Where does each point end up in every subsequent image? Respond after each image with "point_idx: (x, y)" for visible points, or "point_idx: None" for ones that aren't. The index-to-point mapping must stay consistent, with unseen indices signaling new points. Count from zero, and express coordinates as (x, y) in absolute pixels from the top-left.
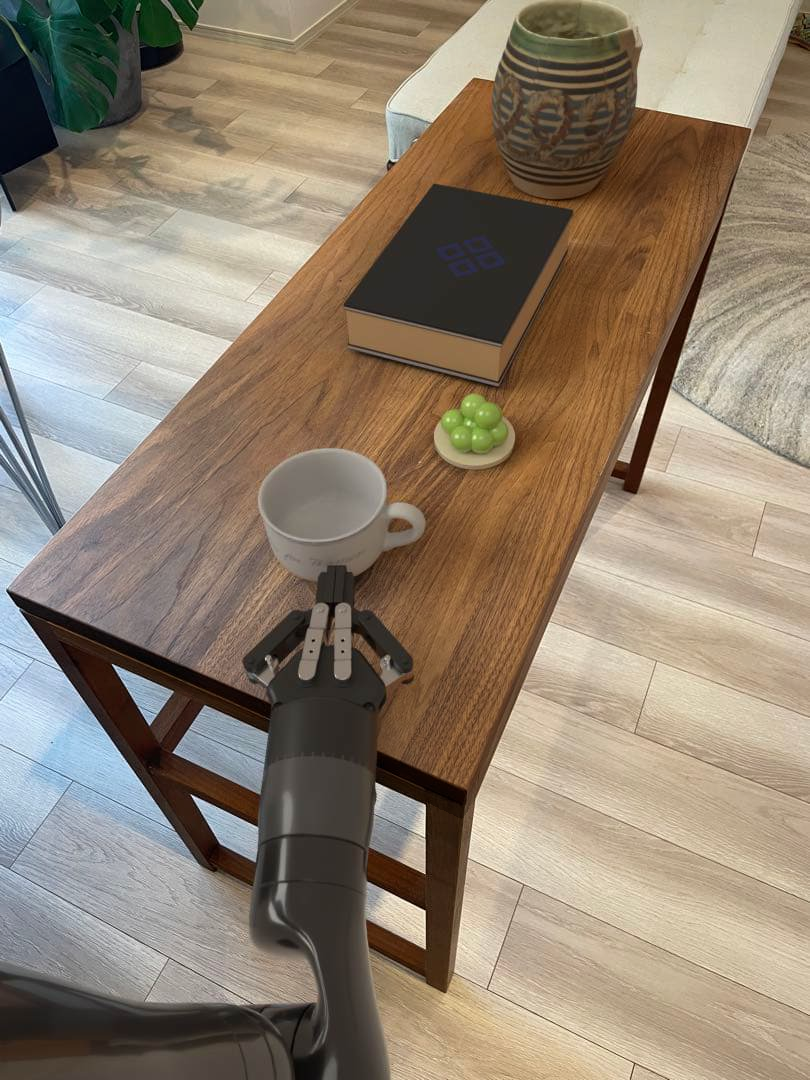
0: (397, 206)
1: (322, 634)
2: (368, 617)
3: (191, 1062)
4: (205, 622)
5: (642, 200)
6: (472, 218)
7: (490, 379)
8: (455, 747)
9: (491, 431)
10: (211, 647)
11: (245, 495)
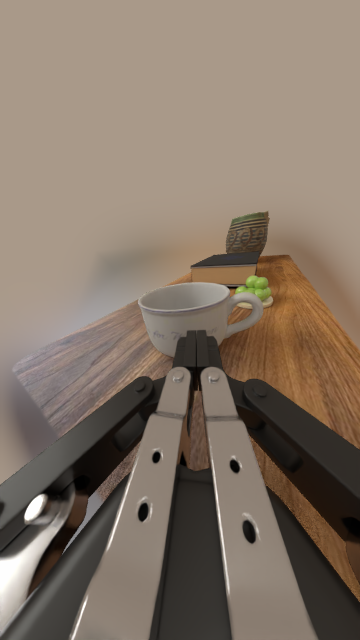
0: None
1: (179, 436)
2: (266, 393)
3: None
4: (93, 389)
5: (270, 262)
6: (228, 255)
7: None
8: None
9: (264, 290)
10: (85, 414)
11: None
